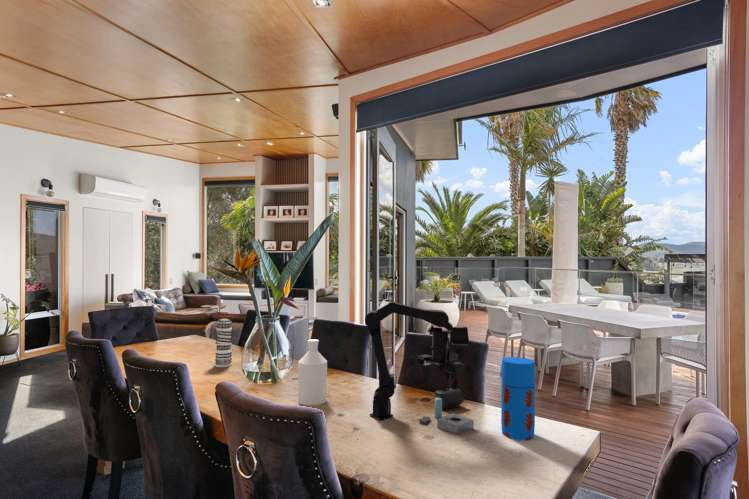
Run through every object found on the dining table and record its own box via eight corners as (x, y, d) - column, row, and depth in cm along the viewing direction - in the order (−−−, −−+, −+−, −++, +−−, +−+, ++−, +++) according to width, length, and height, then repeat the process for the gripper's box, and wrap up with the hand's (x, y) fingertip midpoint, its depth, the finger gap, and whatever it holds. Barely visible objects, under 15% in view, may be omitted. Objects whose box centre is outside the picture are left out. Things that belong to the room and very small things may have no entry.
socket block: (458, 435, 152) (458, 426, 153) (437, 427, 159) (437, 418, 159) (473, 428, 159) (473, 419, 159) (452, 421, 165) (452, 413, 165)
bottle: (307, 407, 179) (308, 344, 179) (292, 400, 188) (293, 339, 188) (332, 401, 186) (333, 340, 187) (316, 394, 195) (317, 336, 196)
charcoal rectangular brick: (425, 425, 162) (426, 421, 162) (419, 424, 163) (419, 420, 163) (430, 421, 166) (430, 417, 166) (423, 420, 167) (424, 416, 167)
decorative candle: (211, 366, 243) (212, 320, 243) (219, 363, 252) (220, 317, 252) (227, 367, 241) (227, 320, 242) (235, 363, 250) (236, 318, 251)
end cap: (446, 412, 176) (446, 394, 176) (433, 407, 181) (433, 390, 182) (464, 407, 181) (464, 390, 182) (451, 402, 187) (451, 386, 187)
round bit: (438, 419, 167) (438, 400, 167) (433, 417, 169) (433, 398, 169) (443, 417, 169) (443, 399, 169) (437, 416, 171) (437, 397, 171)
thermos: (517, 442, 147) (518, 365, 147) (494, 431, 156) (495, 358, 157) (541, 437, 152) (542, 362, 152) (517, 426, 161) (518, 355, 162)
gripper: (473, 346, 167) (472, 388, 167) (435, 338, 181) (434, 377, 181) (454, 349, 160) (453, 394, 159) (416, 341, 174) (415, 382, 173)
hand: (439, 386), depth 168 cm, fingers open, 9 cm apart
